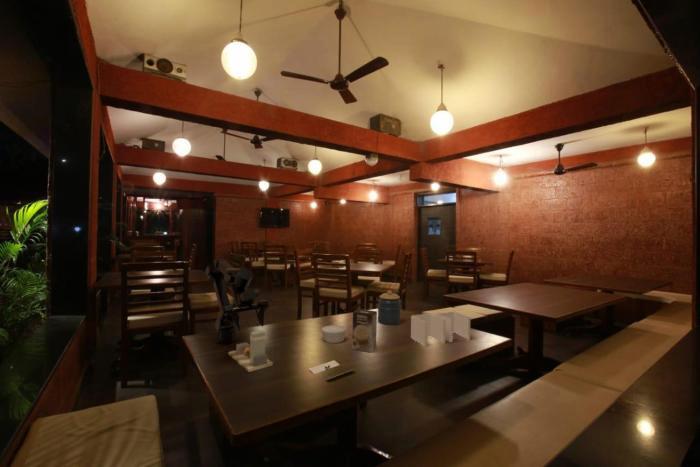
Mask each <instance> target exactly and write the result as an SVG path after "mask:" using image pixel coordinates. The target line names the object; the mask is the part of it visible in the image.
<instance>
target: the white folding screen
mask: <svg viewBox="0 0 700 467" xmlns="http://www.w3.org/2000/svg"><path fill="white" fill-rule="evenodd" d="M453 333H456V334H458V335H457V336H459V335H460V336H459V337H461V336H462V337H461V338H463V337H464V338H463V339H465V338H467V339H466V341H470V340H471V317H470V316H468V315H465V314H463V313H460V312H457V311H445V312H436V313H435V314H432V313H425V314H416V315H414V314H413V315H411V316H410V339H411V338H412V339H413V340H412V339H411V340H412V341H414V340H415V341H414V342H416V341H417V342H418V343H417V342H416V343H417V344H419V343H420V344H419V345H421V346H423V347H424V346H425V347H427V340H428V337H427V336H432V337H434V338H435V339H434V338H433V339H434V340H436V339H437V341H438V340H439V341H438V342H440V341H441V342H440V343H442V342H443V343H442V345H445V344H446V342H448V341H449V343H450V342H453V343H454V339H453V338H454V337H453V336H454V334H453ZM456 334H455V335H456ZM432 337H431V338H432ZM446 340H447V341H446ZM444 343H445V344H444Z"/></svg>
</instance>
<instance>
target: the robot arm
mask: <svg viewBox="0 0 700 467" xmlns="http://www.w3.org/2000/svg"><path fill="white" fill-rule="evenodd" d="M205 276H206V277H207V280H208V281H209V282H210V283H211V284H213V288H214V293H215V297H216V301H217V303H218V304H217V305H218V307H219V312H218V314H217V318H216V320H215V323H214V327H215V329H216V330H217V333H218V334H217V335H218V338H217V339H218V340H216V341H215V343H216V344H222V345H229V344H232V343H234V342H235V341H237V340H238V338H236V330H237V331H238V332H240V331H241V328H240V327H241V326H240V324H239V321H240V315H239V313H240V314H241V313H245V312H253V311H254V312H255V313H256V317H257V319H258V322H259V324H260V327H264V324H265V323H264V321H265V319H264V318H265V313H267V312H268V309H269V308H270V306H271V304H270V302H269V300H268V299H264V300H259V301H257V303H256V304H254V302H255V300H256V299H258V298H259V297H260V296H261V294H260V290H259V288H255V289H252V290H248V289H247V288H248V287H249V285H250V283H251V280H252V278H253V276H254V274H253V271H251V270H250V269H249V268H247V267H246V266H241V267H234V266H233V265H232V264H230V262H228V260H227V259H225V258H221V259H220V258H217V259H214V261H213V262H211V263H210V264H208V265H207V267H206V268H205ZM225 283H226V284H229V285H230V284H231V285H230V293H232V296H233V304H235V305H233V304H231V303H230V299H229V295H228V292H227V287H226V284H225ZM253 304H254V305H253Z"/></svg>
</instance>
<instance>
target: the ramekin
mask: <svg viewBox="0 0 700 467" xmlns="http://www.w3.org/2000/svg"><path fill="white" fill-rule="evenodd" d="M321 332H322V338H323V340H324V342H326V343H328V344H337V343H342V342H344V340H345V339H346V332H347V327H345V326H344V325H343V326H342V325H339V324H337V325H336V324H334V325H333V324H331V325H326V326H323V327H322V328H321Z"/></svg>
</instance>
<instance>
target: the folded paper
mask: <svg viewBox="0 0 700 467" xmlns="http://www.w3.org/2000/svg"><path fill="white" fill-rule="evenodd" d="M338 366H340V364H339V362H337V361H336V360H331V361H329V362H325V363H322V364H321V363H320V364H318V365H316V366H312V367H309V368H308V370H309V371H310V372H312V374H314V375H315V374H318V373H322V372H324V371H327V370H329V369H332V368H335V367H338ZM354 370H355V368H353V369H350V370H348V371H346V372H342V373H340V374H338V375H335V376H332V377H329V378H327V379H326V381H329V380H330V379H331V380H332V379H334V378H336V377H339V376H342V375H344V374H347V373H350V372H352V371H354Z"/></svg>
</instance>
